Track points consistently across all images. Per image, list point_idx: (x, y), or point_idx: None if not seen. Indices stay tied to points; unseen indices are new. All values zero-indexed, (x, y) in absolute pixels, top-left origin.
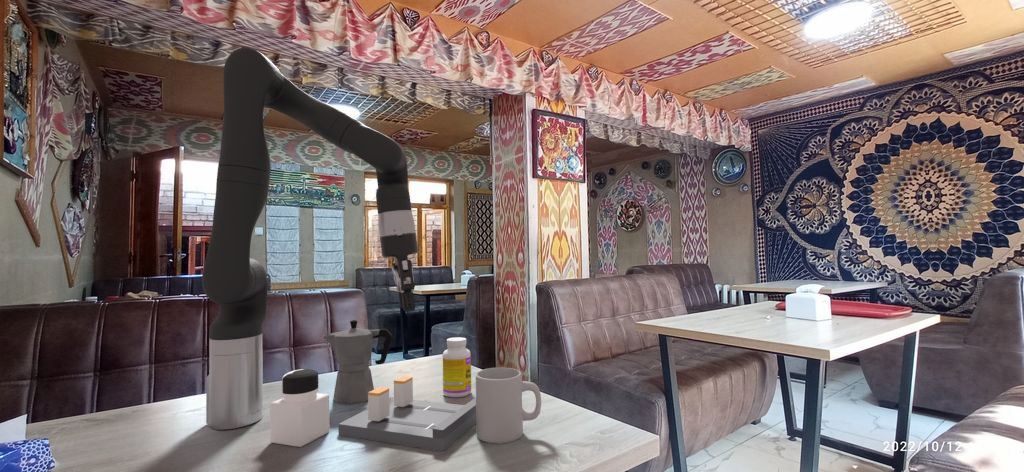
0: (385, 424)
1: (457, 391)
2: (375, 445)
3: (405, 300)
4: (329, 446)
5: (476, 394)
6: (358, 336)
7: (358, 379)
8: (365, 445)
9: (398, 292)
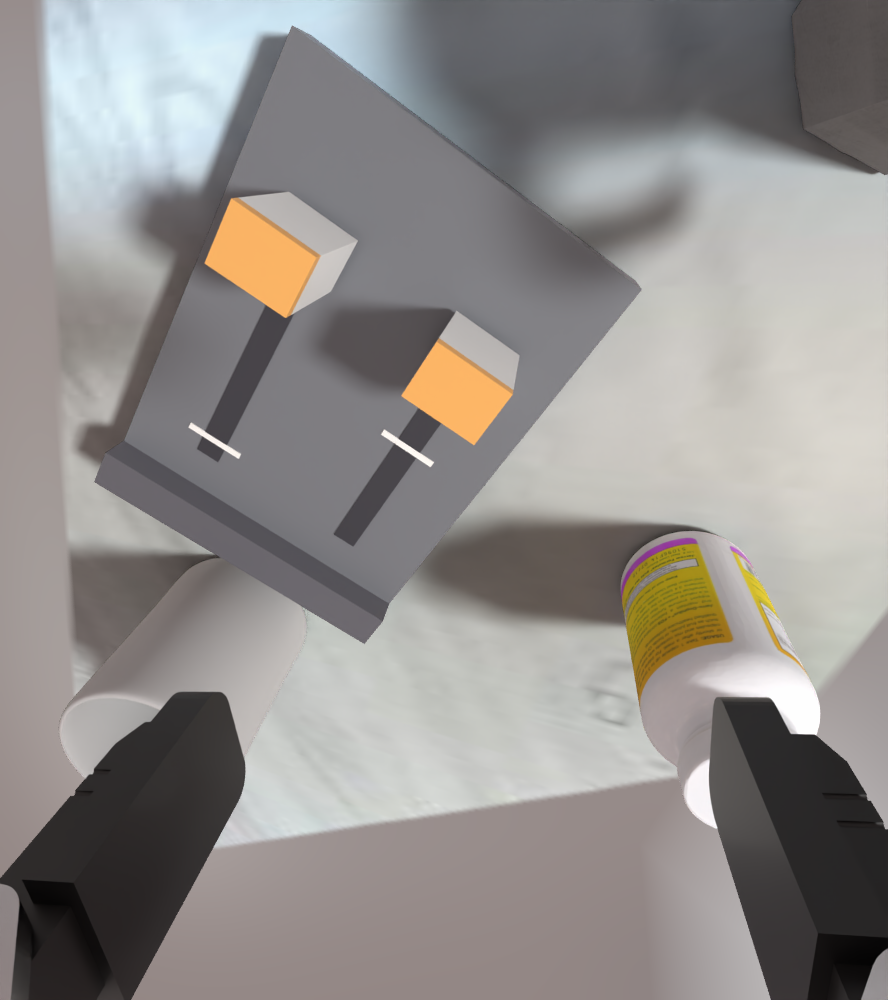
0: None
1: (623, 587)
2: (189, 231)
3: (58, 811)
4: (192, 15)
5: (155, 642)
6: None
7: (879, 48)
8: (192, 189)
9: (835, 919)
